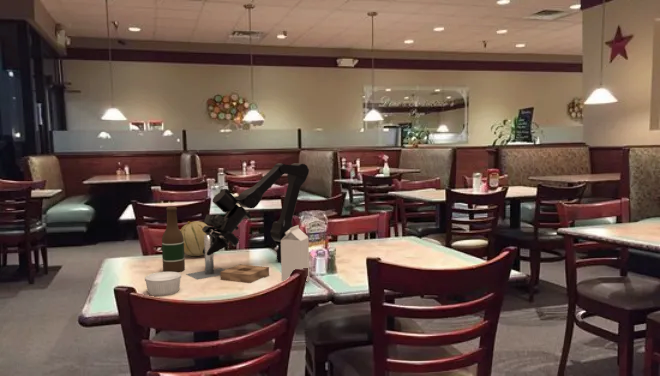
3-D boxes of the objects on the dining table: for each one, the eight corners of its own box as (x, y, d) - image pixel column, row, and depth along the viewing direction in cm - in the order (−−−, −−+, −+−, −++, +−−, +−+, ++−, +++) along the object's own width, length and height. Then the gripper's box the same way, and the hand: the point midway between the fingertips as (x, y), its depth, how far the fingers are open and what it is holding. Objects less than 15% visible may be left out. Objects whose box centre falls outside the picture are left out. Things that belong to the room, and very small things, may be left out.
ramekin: (161, 298, 164) (161, 281, 164) (137, 293, 170) (136, 277, 170) (189, 290, 174) (188, 273, 173) (165, 285, 180) (164, 270, 179)
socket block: (240, 272, 195) (240, 264, 195) (269, 275, 190) (268, 267, 190) (220, 280, 185) (220, 271, 184) (250, 283, 179) (250, 275, 179)
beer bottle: (189, 270, 200) (186, 206, 198) (175, 274, 193) (172, 208, 191) (173, 268, 204) (170, 205, 202) (158, 272, 197) (155, 207, 195)
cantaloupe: (221, 255, 226) (220, 219, 225) (191, 261, 215) (190, 224, 214) (200, 250, 236) (199, 216, 235) (171, 256, 225) (169, 221, 224)
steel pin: (214, 272, 195) (213, 234, 194) (213, 274, 192) (211, 235, 191) (206, 272, 195) (204, 234, 194) (204, 274, 192) (203, 235, 191)
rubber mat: (221, 268, 202) (221, 268, 202) (233, 273, 194) (233, 272, 194) (185, 274, 193) (185, 274, 193) (197, 280, 185) (197, 279, 185)
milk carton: (309, 280, 182) (308, 225, 181) (301, 286, 175) (300, 228, 174) (290, 279, 184) (288, 224, 183) (281, 284, 178) (280, 227, 176)
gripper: (206, 204, 201) (179, 236, 195) (229, 208, 186) (201, 244, 181) (225, 222, 207) (200, 255, 201) (250, 228, 192) (223, 263, 186)
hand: (205, 254), depth 192 cm, fingers closed on steel pin, 3 cm apart
